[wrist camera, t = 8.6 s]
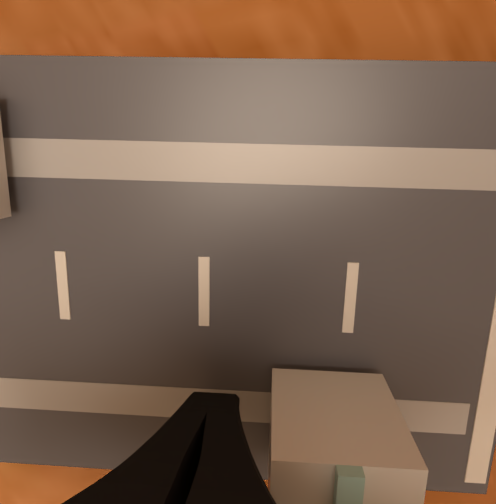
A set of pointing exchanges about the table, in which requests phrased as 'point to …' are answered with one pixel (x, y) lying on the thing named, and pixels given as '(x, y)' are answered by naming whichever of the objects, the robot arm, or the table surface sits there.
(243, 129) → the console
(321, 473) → the fader
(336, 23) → the table surface
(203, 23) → the table surface
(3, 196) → the fader
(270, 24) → the table surface
